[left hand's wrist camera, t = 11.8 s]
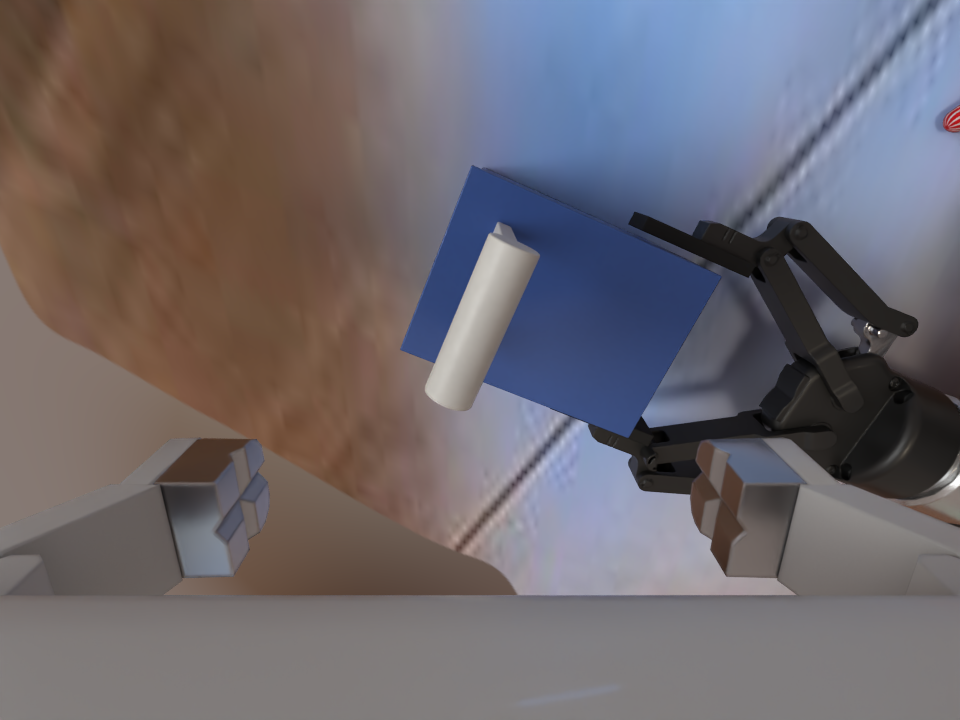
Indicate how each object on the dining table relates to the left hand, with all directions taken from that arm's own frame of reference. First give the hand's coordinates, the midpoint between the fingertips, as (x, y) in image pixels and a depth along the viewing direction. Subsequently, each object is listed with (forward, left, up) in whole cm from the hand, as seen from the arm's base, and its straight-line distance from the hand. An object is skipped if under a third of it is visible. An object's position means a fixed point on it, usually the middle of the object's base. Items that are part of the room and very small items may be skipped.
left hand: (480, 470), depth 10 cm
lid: (-3, +3, -18) cm, 18 cm away
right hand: (-4, +6, -21) cm, 22 cm away
